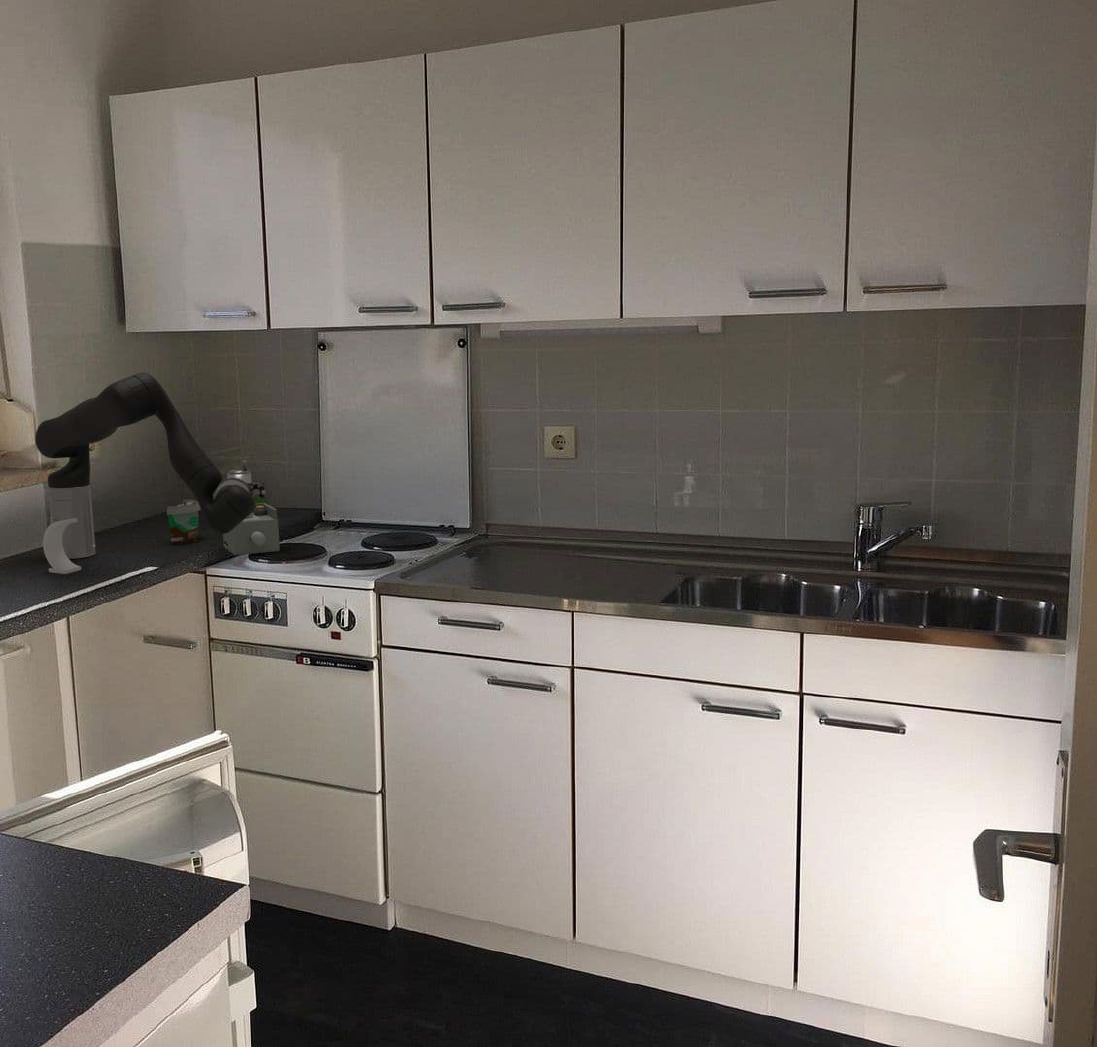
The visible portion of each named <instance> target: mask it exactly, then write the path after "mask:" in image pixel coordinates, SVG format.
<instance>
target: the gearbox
mask: <svg viewBox="0 0 1097 1047" xmlns="http://www.w3.org/2000/svg"><path fill="white" fill-rule="evenodd" d="M255 505H256V506H255V509H254V511H253V516H254V517H252V518H248V519H244V520H243V521H242V522H241V523H239V524H238V525H237V526H236V527H235V528H234V529H232V530H231V531H230V532H228V533H226V534H222V538H223V539H222V540H223V542H224V541H226V542H227V544H228V546H227V545H226V544H224V543H223V548H225V549H226V550H227V551H228V552H230V553H231V554H232V555H234V556H243V555H252V554H261V553H263V554H264V553H270V552H273V553H274V552H280V550H281V549H280V533H279V532H280V531H279V518H278V509H277V508H275V507H273V506H272V505H271V504H270V505H268V504H266V503H259V504H255Z"/></svg>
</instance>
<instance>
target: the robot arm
mask: <svg viewBox="0 0 1097 1047" xmlns="http://www.w3.org/2000/svg"><path fill="white" fill-rule="evenodd" d="M152 416H156V417H157V419H159V420H160V423H161V424H162V425H163V427H164V430H165V434H166V438H167V448H168V450H167V452H168V458H169V461H170V464H171V466H172V468H173V470H174V472H175V473H176V474H177V475H178V477H180V479H181V480H182V481H183V482H184V483H185V485H186V486H187V487H188V489H190V491H191V492H192V494H193V496H194V498H195V500H196V501H197V502H198V504H199V506H200V509H201V510H200V511H201V513H202V515H203V518H204V520H205V522H206V524H207V525H208V527H209V528H210V529H211V530H212V531H213V532H214V533H218V534H221V535H223V534H226V533H228V532H230V531H231V530H232V529H234V528H235V527H236V526H237V525H238V524H239V523H241V522H242V521H243V520H244V519H245V518H247V517H248V516H249V515H250V514H251V513H252V512H253V511H254V509H255V506H256V505H255V501H254V499H253V495H255V494H258V497H261V498H264V497H266V496H267V493H268V492H267V483H265V482H262V483H260V484H259V483H258V482H256V481H251V483H248V482H247V483H245V482H244V481H243V480H241V479H238V478H226V479H224V480H223V473H222V472H221V471H220V469H219V468H218V467H217V465H216V464H215V463H214V462H213V461H212V460H211V458H209V456H208V455H207V454H206V453H205V452H204V451H203V449H202V448H201V447H200V445H199V444H198V443H197V441H196V440H195V438H194V437H193V436H192V434H191V432H190V431H189V430H190V429H188V427H187V425H186V424H185V422H184V420H183V419H182V416H181V415H180V413H179V411H177V408H176V407H175V405H174V404H173V402H172V400H171V399H170V397H169V396H168V394H167V393H166V391H165V389H164V388H163V386H162V385H161V384H160V382H158V380H157V379H156V378H155V377H154V376H152V374H150V373H149V372H148V373H147V372H139V373H135V374H133V375H130V376H128V377H124V378H122V379H120V380H117V381H114V382H113V383H111V384H109V385H107V386H106V387H105V388H104V389H103V390H102V391H101V392H100V393H99V394H98V395H97V396H96V397H91V398H87V399H85V400H84V401H82V402H80V403H79V404H77V405H75V406H74V407H73V408H70V409H68V411H66V412H63V413H62V414H61V415H59V416H56V417H54V418H53V417H52V418H50V419H46V420H44V421H42V422H41V423H40V424H39V426H38V427H37V429H36V431H35V436H34V440H35V445H36V448H37V450H38V451H39V453H40V454H41V455H42V456H44V457H45V458H49V459H62V458H63V459H64V458H69V459H68V462H67V463H66V465H64V466H63V467H62V468H60V469H58V470H56V471H53V472H51V473H50V474H49V475H48V476H47V487H48V498H49V509H50V510H49V512H50V517H49V519H50V525H51V524H52V523H54V522H58V521H63V520H68V519H73V518H77V522H75V523H70V524H69V525H67V526H66V528H65V529H64V532H63V535H62V545H63V549H64V552H65V554H66V556H67V557H68V559H69V560H71V559H72V560H73V559H82V558H88V557H92V556H95V555H96V541H95V540H96V539H95V529H94V528H95V526H94V518H93V517H94V516H93V502H92V492H91V491H92V490H91V480H90V479H91V461H90V460H91V457H90V456H91V455H90V454H91V453H90V452H91V451H90V444H95V443H99V442H101V441H104V440H105V439H107V438H109V437H111V436H112V435H113V434H114V433H116V431H117V430H118V428H120V427H125V426H130V425H134V424H136V423H139V422H141V421H143V420H146V419H148V418H150V417H152Z"/></svg>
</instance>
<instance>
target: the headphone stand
mask: <svg viewBox="0 0 1097 1047" xmlns="http://www.w3.org/2000/svg"><path fill="white" fill-rule="evenodd" d="M75 522H77V518H73V519H68V520H63V521H58V522H54V523H52V524H51V523H50V524H49V526H48V527H47V528H46V530H45V531H44V534H43V538H42V540H43V541H42V544H43V545H42V546H43V551H44V556H45V558H46V560H47V562H48V563H49V565H50V566H51V567H50V568H48V572H49V573H54V574H60V575H61V574H62V575H67V574H71V573H74V572H75V573H76V572H78V571H81V570H82V566H81V565H77V564H75V563H74V562H72V561H71V559H68V557H67V556H66V554H65V552H64V549H63V545H62V535H63V532H64V529H65V528H66V526H67V525H69V524H70V523H75Z"/></svg>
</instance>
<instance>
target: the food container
mask: <svg viewBox="0 0 1097 1047" xmlns="http://www.w3.org/2000/svg"><path fill="white" fill-rule="evenodd" d="M199 511H201V508H200V506H199V504H198V502H197V500H196V499H182V503H181V504H175V505H173V506H172V505H171V506H169V505H168V506H166V515H167V517H168V528H169V535H170V543H171V544H170V545H181V544H182V543H184V544H188V543H187V542H191V541H194V540H197V539H198V540H199ZM197 535H198V536H197ZM194 536H197V537H195V538H191V539H186V538H190V537H194ZM180 539H185V540H180ZM198 540H197V541H198ZM191 543H192V542H191ZM182 545H183V544H182Z"/></svg>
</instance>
